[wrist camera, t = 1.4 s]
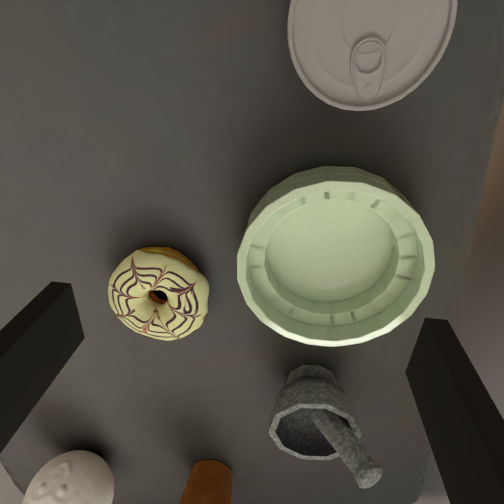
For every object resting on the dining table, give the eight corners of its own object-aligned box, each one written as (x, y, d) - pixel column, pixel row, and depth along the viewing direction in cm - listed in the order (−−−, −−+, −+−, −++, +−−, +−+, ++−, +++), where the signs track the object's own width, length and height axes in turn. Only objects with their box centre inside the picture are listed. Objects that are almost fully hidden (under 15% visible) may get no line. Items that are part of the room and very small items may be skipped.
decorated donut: (225, 263, 38) (218, 283, 34) (197, 334, 43) (189, 357, 40) (129, 227, 37) (113, 245, 33) (112, 304, 42) (97, 325, 39)
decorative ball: (118, 436, 55) (77, 526, 44) (132, 481, 60) (99, 570, 50) (45, 430, 56) (-13, 516, 45) (65, 474, 62) (19, 560, 51)
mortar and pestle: (274, 407, 48) (269, 506, 37) (269, 354, 43) (260, 450, 33) (362, 408, 46) (382, 513, 36) (365, 354, 42) (389, 455, 31)
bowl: (244, 159, 32) (236, 176, 28) (437, 168, 31) (460, 187, 26) (243, 307, 40) (237, 338, 36) (395, 320, 39) (408, 353, 34)
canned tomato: (284, -21, 26) (278, -65, 16) (401, -45, 24) (470, -108, 15) (294, 98, 29) (294, 120, 20) (396, 83, 28) (448, 99, 18)
